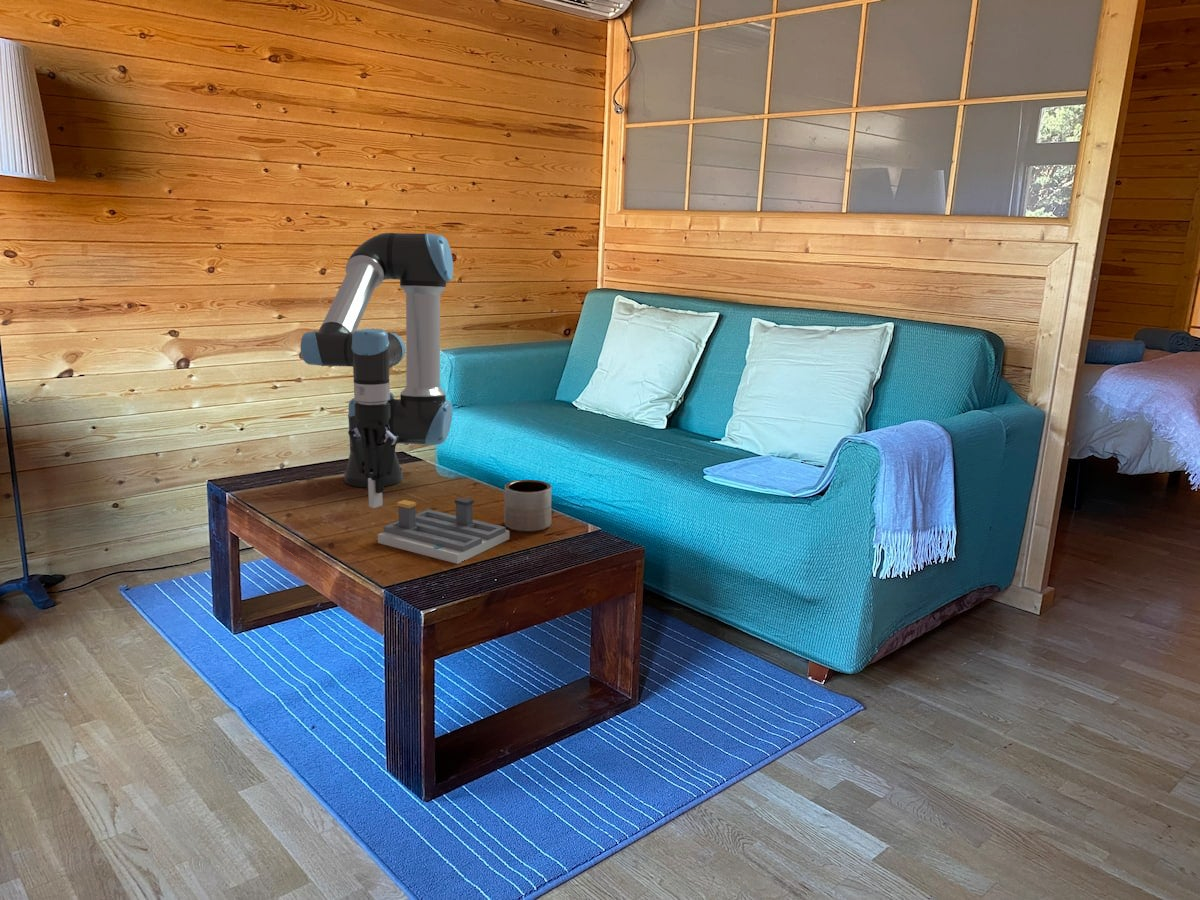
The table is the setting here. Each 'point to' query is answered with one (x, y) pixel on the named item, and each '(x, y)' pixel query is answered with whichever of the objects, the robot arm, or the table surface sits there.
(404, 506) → the fader
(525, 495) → the planter
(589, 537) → the table surface
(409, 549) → the console
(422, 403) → the robot arm
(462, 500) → the fader
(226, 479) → the table surface
